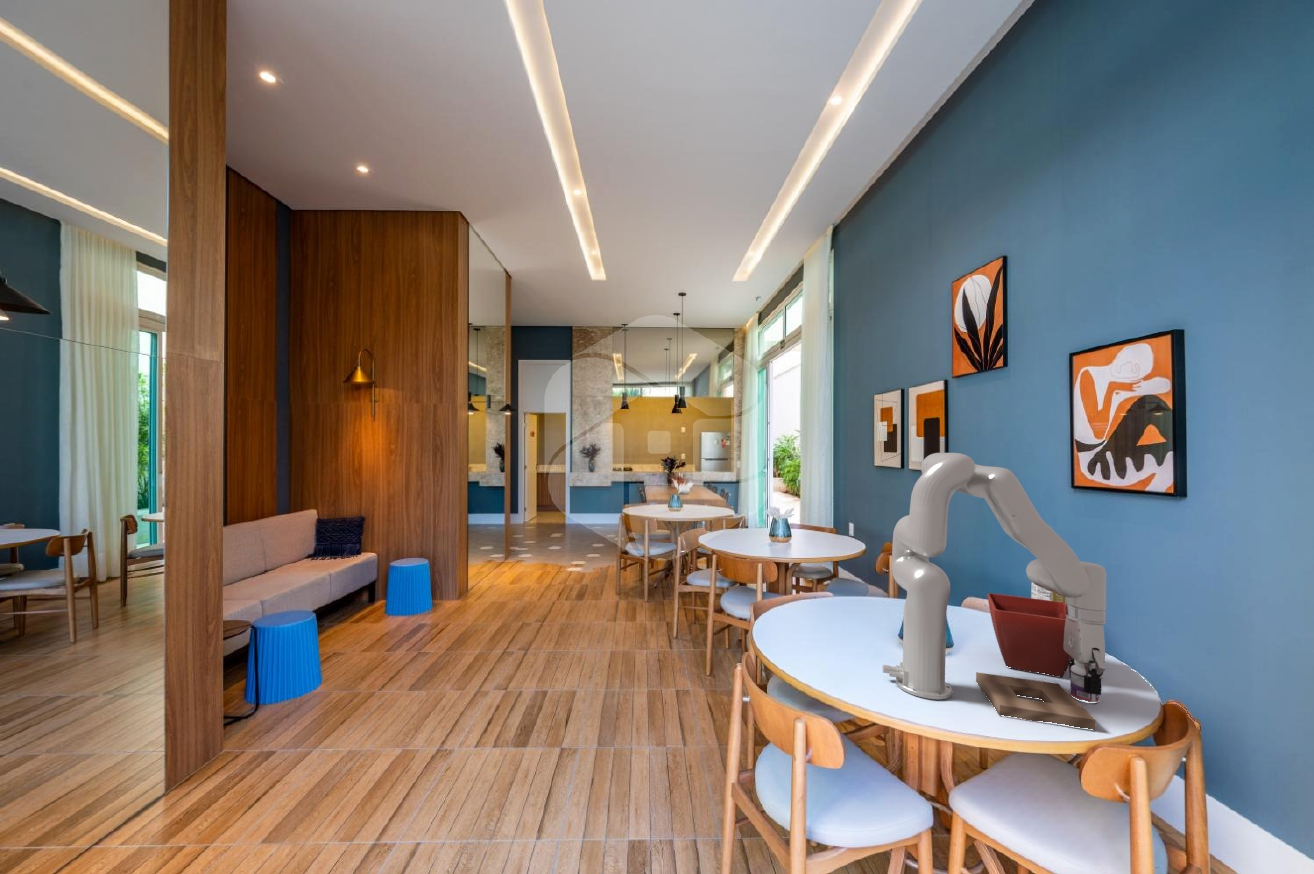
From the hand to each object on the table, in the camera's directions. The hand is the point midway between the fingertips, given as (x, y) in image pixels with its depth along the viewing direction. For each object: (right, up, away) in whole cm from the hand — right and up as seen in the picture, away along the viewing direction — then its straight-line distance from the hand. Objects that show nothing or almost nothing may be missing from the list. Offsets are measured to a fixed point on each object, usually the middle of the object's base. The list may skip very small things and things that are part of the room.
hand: (1084, 685), depth 125 cm
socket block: (-16, -3, -3) cm, 16 cm away
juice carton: (+18, -5, +35) cm, 40 cm away
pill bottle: (0, -3, 0) cm, 3 cm away
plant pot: (+1, -4, +20) cm, 20 cm away
